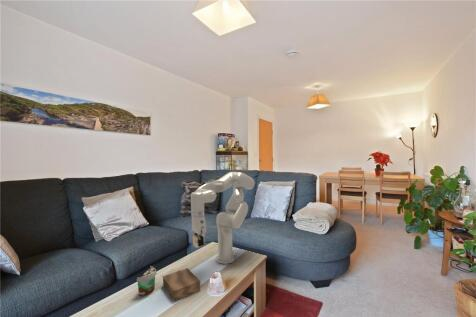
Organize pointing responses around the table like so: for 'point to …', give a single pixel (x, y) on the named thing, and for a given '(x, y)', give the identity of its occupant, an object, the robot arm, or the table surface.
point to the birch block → (196, 241)
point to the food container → (147, 282)
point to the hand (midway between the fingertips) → (198, 243)
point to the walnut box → (181, 284)
